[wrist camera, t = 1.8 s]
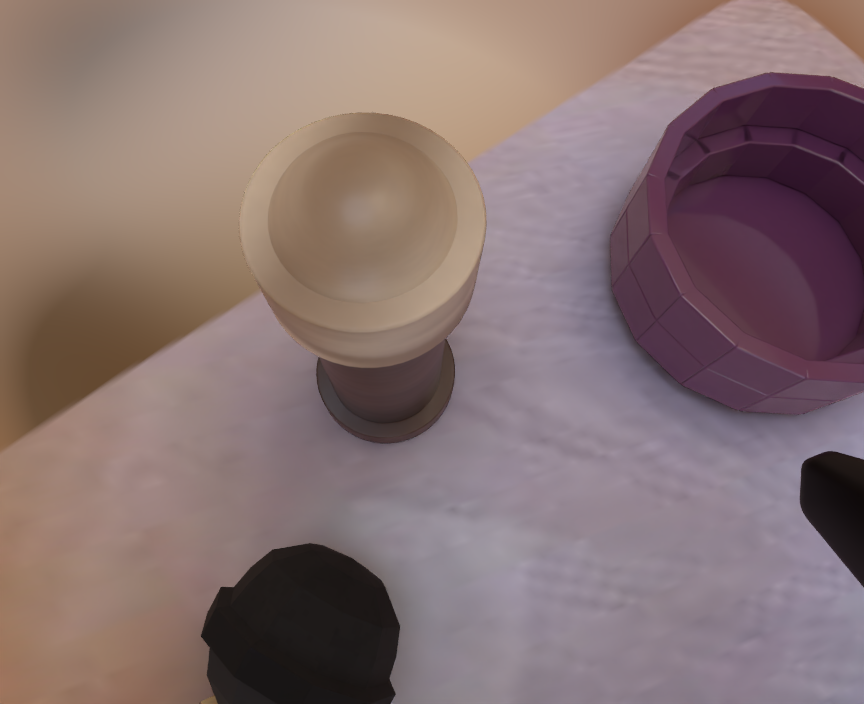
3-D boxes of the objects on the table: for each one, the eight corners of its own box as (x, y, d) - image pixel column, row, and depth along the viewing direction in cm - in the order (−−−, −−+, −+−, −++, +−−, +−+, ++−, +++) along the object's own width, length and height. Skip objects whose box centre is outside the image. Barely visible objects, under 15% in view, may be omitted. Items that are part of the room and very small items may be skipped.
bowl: (913, 224, 26) (1023, 149, 22) (844, 469, 23) (955, 445, 18) (659, 121, 27) (710, 28, 23) (561, 340, 24) (597, 286, 20)
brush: (474, 348, 24) (536, 129, 12) (417, 466, 23) (420, 354, 11) (359, 295, 25) (305, 33, 13) (295, 406, 23) (166, 234, 11)
